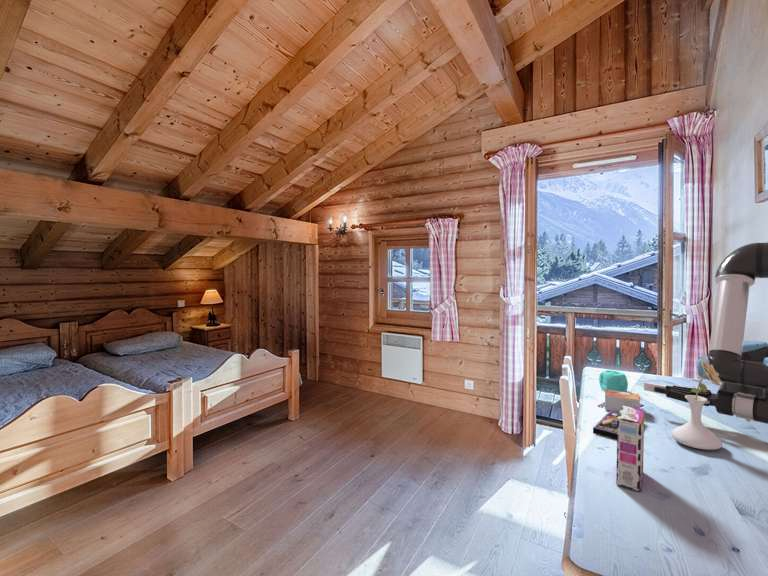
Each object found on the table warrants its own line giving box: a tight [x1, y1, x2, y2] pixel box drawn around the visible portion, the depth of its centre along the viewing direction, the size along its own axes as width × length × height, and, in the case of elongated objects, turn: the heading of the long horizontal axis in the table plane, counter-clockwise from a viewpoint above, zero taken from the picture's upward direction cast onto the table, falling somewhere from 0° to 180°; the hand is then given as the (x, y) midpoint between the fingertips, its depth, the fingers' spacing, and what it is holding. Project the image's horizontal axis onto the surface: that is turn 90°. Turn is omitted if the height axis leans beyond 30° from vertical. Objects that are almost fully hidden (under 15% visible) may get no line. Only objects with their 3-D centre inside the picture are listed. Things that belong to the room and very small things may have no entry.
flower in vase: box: [670, 359, 724, 451], centre depth 104 cm, size 13×11×25 cm
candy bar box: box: [615, 406, 645, 493], centre depth 87 cm, size 11×5×16 cm, turn 141°
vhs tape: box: [592, 410, 620, 440], centre depth 116 cm, size 10×2×19 cm
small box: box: [604, 390, 641, 413], centre depth 131 cm, size 8×6×10 cm
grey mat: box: [597, 401, 644, 408], centre depth 135 cm, size 14×10×1 cm
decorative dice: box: [598, 369, 629, 392], centre depth 151 cm, size 8×8×8 cm
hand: (644, 385), depth 128 cm, fingers closed
